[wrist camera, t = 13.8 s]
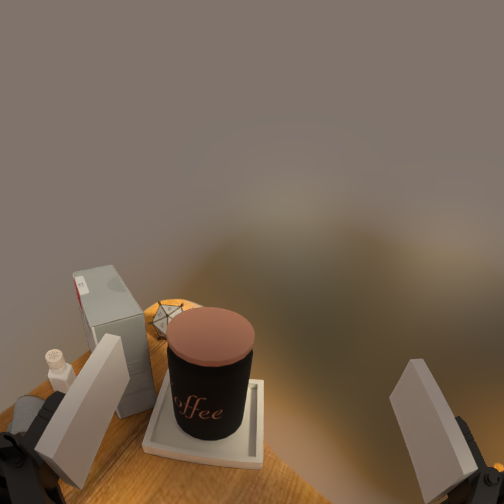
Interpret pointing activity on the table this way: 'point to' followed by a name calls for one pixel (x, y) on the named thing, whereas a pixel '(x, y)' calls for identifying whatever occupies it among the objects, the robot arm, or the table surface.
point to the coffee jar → (209, 370)
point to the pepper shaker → (59, 371)
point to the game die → (164, 318)
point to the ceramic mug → (24, 414)
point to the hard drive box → (117, 331)
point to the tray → (207, 452)
